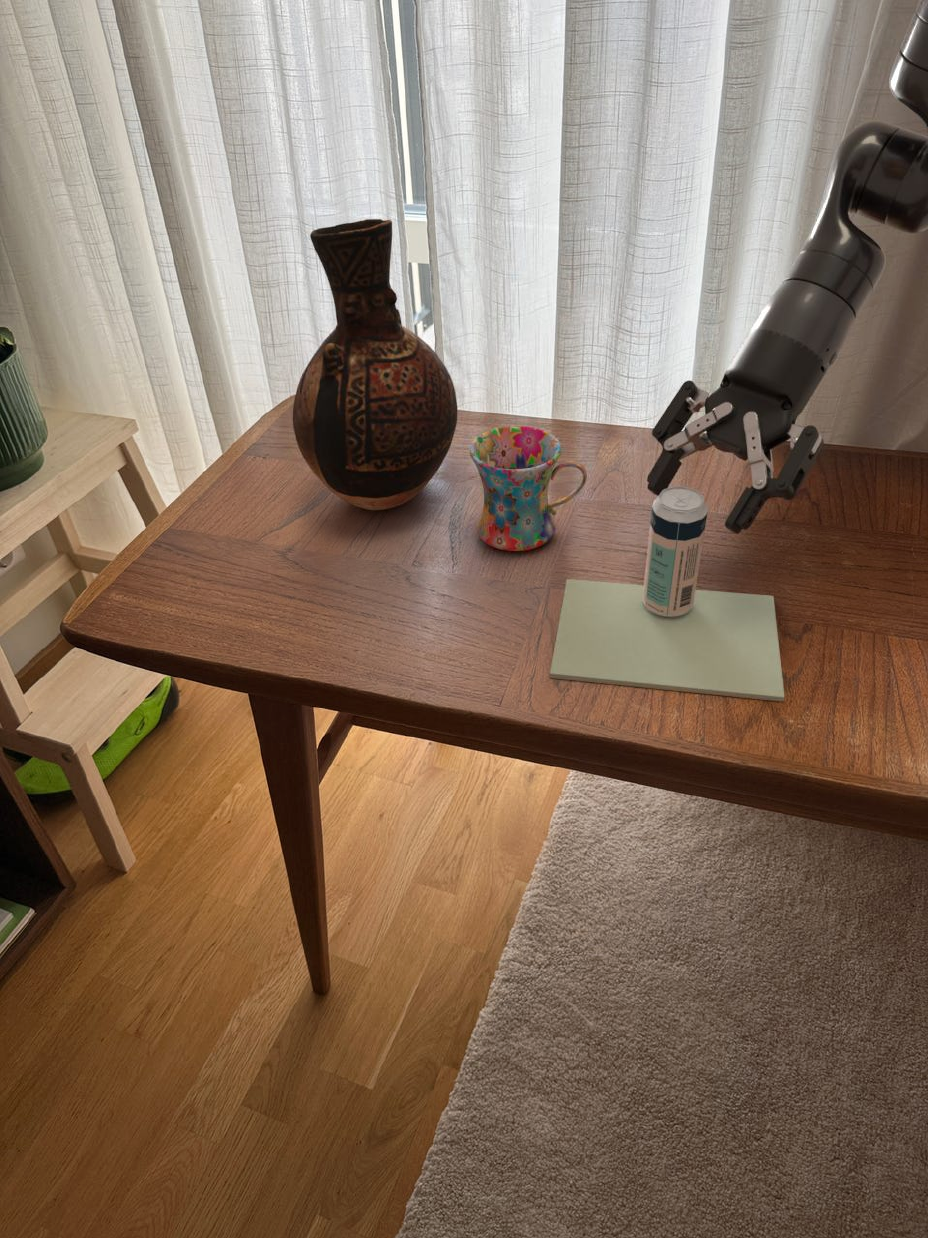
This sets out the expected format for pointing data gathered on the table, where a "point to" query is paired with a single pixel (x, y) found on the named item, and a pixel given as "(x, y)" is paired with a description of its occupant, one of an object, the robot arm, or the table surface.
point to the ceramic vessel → (371, 381)
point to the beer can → (674, 551)
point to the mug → (518, 486)
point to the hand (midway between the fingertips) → (691, 510)
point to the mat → (669, 642)
